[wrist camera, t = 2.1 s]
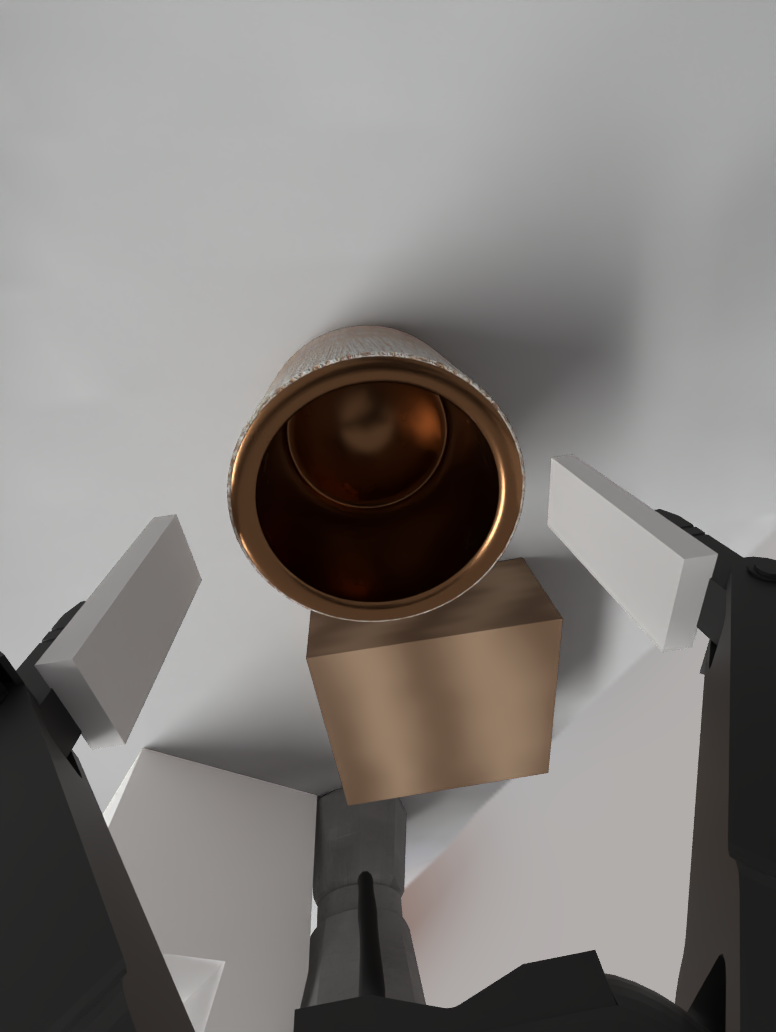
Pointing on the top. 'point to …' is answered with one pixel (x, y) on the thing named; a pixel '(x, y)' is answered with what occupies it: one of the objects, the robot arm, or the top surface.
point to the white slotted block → (221, 886)
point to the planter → (374, 478)
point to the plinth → (441, 690)
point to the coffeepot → (360, 904)
